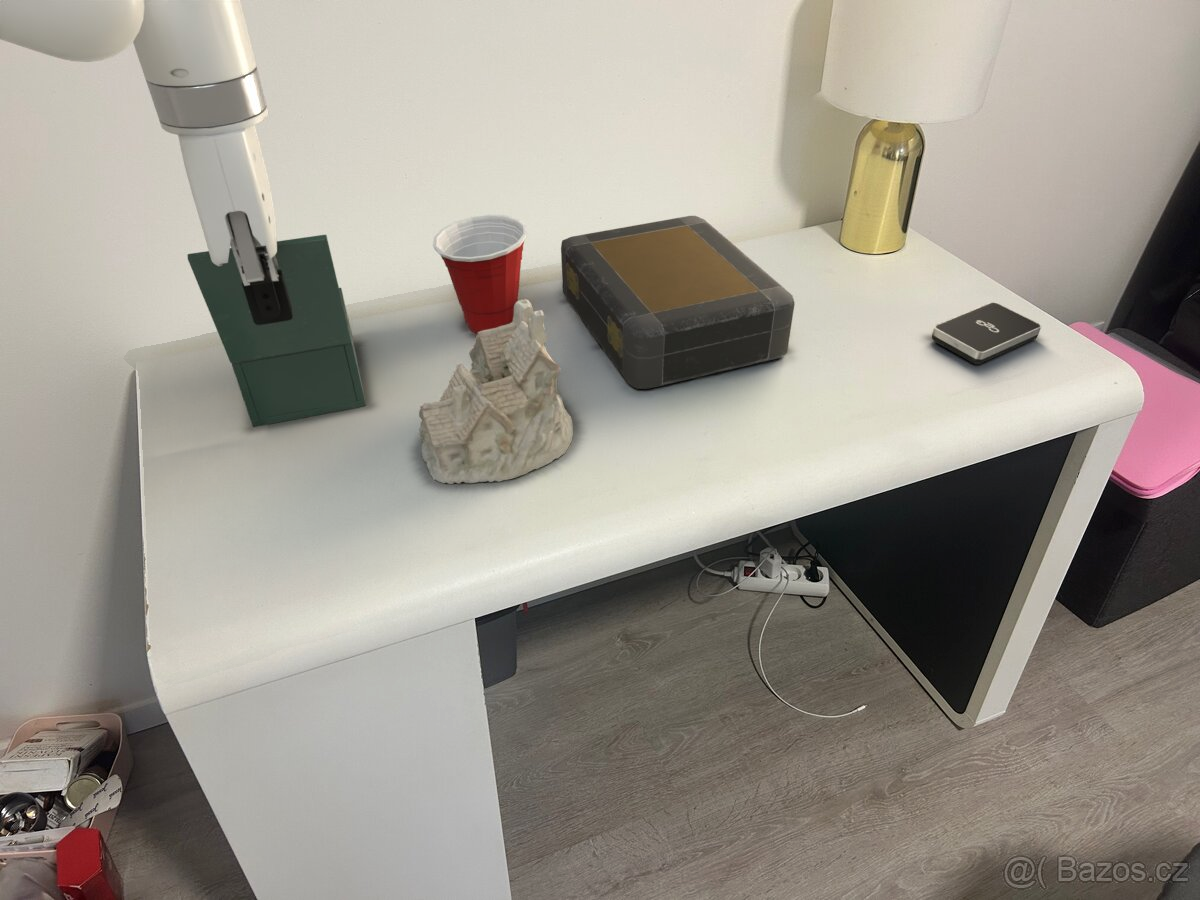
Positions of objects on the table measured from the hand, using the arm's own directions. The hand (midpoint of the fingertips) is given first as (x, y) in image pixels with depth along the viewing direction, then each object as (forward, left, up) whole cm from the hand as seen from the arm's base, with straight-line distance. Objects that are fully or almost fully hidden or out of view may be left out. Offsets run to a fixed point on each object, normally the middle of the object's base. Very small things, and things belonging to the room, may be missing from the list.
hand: (274, 317), depth 73 cm
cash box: (+43, +13, -16) cm, 48 cm away
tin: (0, +14, -16) cm, 21 cm away
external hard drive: (+76, -3, -16) cm, 78 cm away
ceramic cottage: (+18, -1, -16) cm, 24 cm away
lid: (0, +6, -2) cm, 7 cm away
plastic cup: (+22, +20, -16) cm, 34 cm away
